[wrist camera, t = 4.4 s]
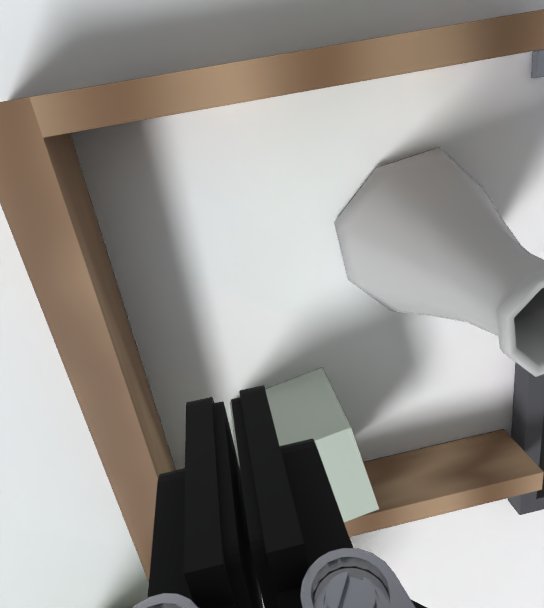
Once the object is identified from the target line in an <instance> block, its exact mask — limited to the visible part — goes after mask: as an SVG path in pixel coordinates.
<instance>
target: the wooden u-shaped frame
mask: <svg viewBox="0 0 544 608" xmlns="http://www.w3.org/2000/svg"><path fill="white" fill-rule="evenodd" d="M541 49H544V9H543V10H537V11H531V12H525V13H520V14H514V15H508V16H502V17H496V18H490V19H484V20H479V21H473V22H467V23H461V24H455V25H449V26H443V27H438V28H432V29H426V30H420V31H414V32H408V33H402V34H397V35H391V36H385V37H379V38H373V39H367V40H361V41H355V42H350V43H344V44H338V45H332V46H326V47H320V48H314V49H309V50H303V51H297V52H291V53H285V54H279V55H273V56H268V57H262V58H256V59H250V60H244V61H238V62H232V63H227V64H221V65H215V66H209V67H203V68H197V69H191V70H186V71H180V72H174V73H168V74H162V75H156V76H150V77H145V78H139V79H133V80H127V81H121V82H115V83H109V84H104V85H98V86H92V87H86V88H80V89H74V90H68V91H63V92H57V93H51V94H45V95H39V96H33V97H27V98H22V99H16V100H10V101H4V102H0V204H1V206H2V209H3V211H4V214H5V217H6V219H7V222H8V224H9V227H10V229H11V232H12V234H13V237H14V240H15V242H16V245H17V247H18V250H19V252H20V255H21V257H22V260H23V262H24V265H25V268H26V270H27V273H28V275H29V278H30V280H31V283H32V285H33V288H34V291H35V293H36V296H37V298H38V301H39V303H40V306H41V308H42V311H43V313H44V316H45V319H46V321H47V324H48V326H49V329H50V331H51V334H52V336H53V339H54V342H55V344H56V347H57V349H58V352H59V354H60V357H61V359H62V362H63V364H64V367H65V370H66V372H67V375H68V377H69V380H70V382H71V385H72V387H73V390H74V392H75V395H76V398H77V400H78V403H79V405H80V408H81V410H82V413H83V415H84V418H85V421H86V423H87V426H88V428H89V431H90V433H91V436H92V438H93V441H94V443H95V446H96V449H97V451H98V454H99V456H100V459H101V461H102V464H103V466H104V469H105V472H106V474H107V477H108V479H109V482H110V484H111V487H112V489H113V492H114V494H115V497H116V500H117V502H118V505H119V507H120V510H121V512H122V515H123V517H124V520H125V523H126V525H127V528H128V530H129V533H130V535H131V538H132V540H133V543H134V545H135V548H136V551H137V553H138V556H139V558H140V561H141V563H142V566H143V568H144V571H145V573H146V576H147V579H148V581H149V576H150V565H151V553H152V541H153V529H154V517H155V505H156V493H157V482H158V477H159V475H160V474H162V473H166V472H171V471H175V467H174V464H173V461H172V457H171V454H170V451H169V448H168V445H167V442H166V438H165V435H164V432H163V429H162V426H161V422H160V419H159V416H158V413H157V410H156V407H155V403H154V400H153V397H152V394H151V391H150V387H149V384H148V381H147V378H146V375H145V372H144V368H143V365H142V362H141V359H140V356H139V352H138V349H137V346H136V343H135V340H134V337H133V333H132V330H131V327H130V324H129V321H128V317H127V314H126V311H125V308H124V305H123V302H122V298H121V295H120V292H119V289H118V286H117V282H116V279H115V276H114V273H113V270H112V267H111V263H110V260H109V257H108V254H107V251H106V247H105V244H104V241H103V238H102V235H101V231H100V228H99V225H98V222H97V219H96V216H95V212H94V209H93V206H92V203H91V200H90V196H89V193H88V190H87V187H86V184H85V181H84V177H83V174H82V171H81V168H80V165H79V161H78V158H77V155H76V152H75V149H74V146H73V142H72V139H71V136H70V133H72V132H78V131H83V130H89V129H95V128H100V127H106V126H112V125H117V124H123V123H129V122H134V121H140V120H146V119H151V118H157V117H162V116H168V115H174V114H179V113H185V112H191V111H196V110H202V109H208V108H213V107H219V106H225V105H230V104H236V103H242V102H247V101H253V100H259V99H264V98H270V97H276V96H281V95H287V94H293V93H298V92H304V91H309V90H315V89H321V88H326V87H332V86H338V85H343V84H349V83H355V82H360V81H366V80H372V79H377V78H383V77H389V76H394V75H400V74H406V73H411V72H417V71H423V70H428V69H434V68H439V67H445V66H451V65H456V64H462V63H468V62H473V61H479V60H485V59H490V58H496V57H502V56H507V55H513V54H519V53H524V52H530V51H536V50H541ZM363 464H364V466H365V469H366V472H367V475H368V478H369V481H370V484H371V487H372V490H373V493H374V495H375V498H376V501H377V504H378V507H379V509H378V510H375V511H373V512H370V513H367V514H365V515H362V516H360V517H357V518H354V519H352V520H349V521H346V522H344V524H345V527H346V530H347V532H348V535H349V537H351V536H355V535H359V534H363V533H367V532H371V531H375V530H379V529H383V528H387V527H392V526H396V525H400V524H404V523H408V522H412V521H416V520H420V519H424V518H428V517H432V516H436V515H440V514H444V513H449V512H453V511H457V510H461V509H465V508H469V507H473V506H477V505H481V504H485V503H489V502H493V501H497V500H502V499H506V498H510V497H514V496H518V495H522V494H526V493H530V492H534V491H538V490H542V484H543V473H544V472H543V471H542V470H541V469H540V468H539V467H538V466H537V464H536V463H535V462H534V461H533V460H532V459H531V458H530V457H529V456H528V455H527V454H526V453H525V452H524V451H523V449H522V448H521V447H520V446H519V445H518V444H517V443H516V442H515V441H514V440H513V439H512V438H511V437H510V436H509V435H508V433H507V432H506V431H505V430H504V429H503V430H499V431H495V432H490V433H486V434H482V435H478V436H473V437H469V438H465V439H461V440H456V441H452V442H448V443H444V444H439V445H435V446H431V447H427V448H422V449H418V450H414V451H410V452H405V453H401V454H397V455H392V456H388V457H384V458H380V459H375V460H371V461H367V462H363Z"/></svg>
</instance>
